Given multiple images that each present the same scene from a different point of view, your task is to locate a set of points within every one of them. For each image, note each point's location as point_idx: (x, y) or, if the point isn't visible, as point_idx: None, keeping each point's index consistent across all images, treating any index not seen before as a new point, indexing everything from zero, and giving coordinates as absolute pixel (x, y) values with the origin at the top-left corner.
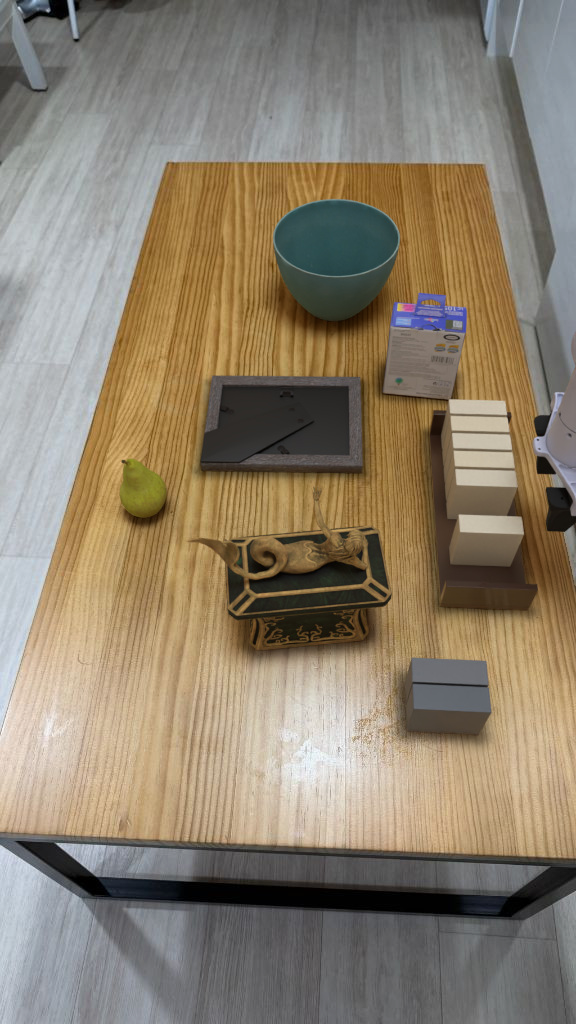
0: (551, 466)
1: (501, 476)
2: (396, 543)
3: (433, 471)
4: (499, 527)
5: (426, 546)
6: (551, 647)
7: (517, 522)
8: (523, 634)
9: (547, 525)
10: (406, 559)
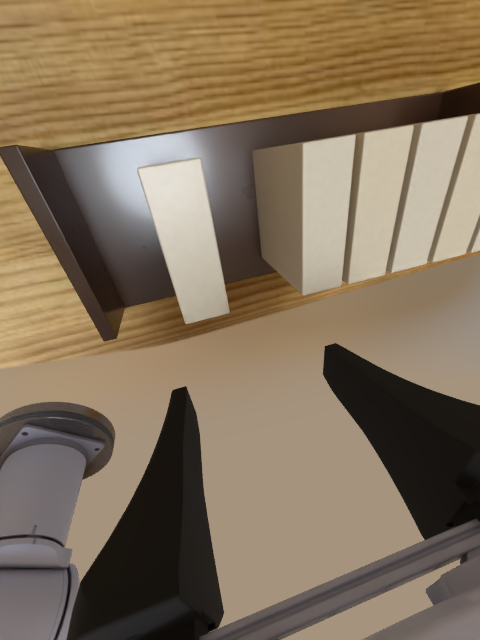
0: (339, 382)
1: (328, 260)
2: (170, 12)
3: (360, 107)
4: (188, 274)
5: (184, 106)
6: (68, 341)
7: (212, 308)
8: (69, 305)
9: (169, 407)
10: (133, 49)
